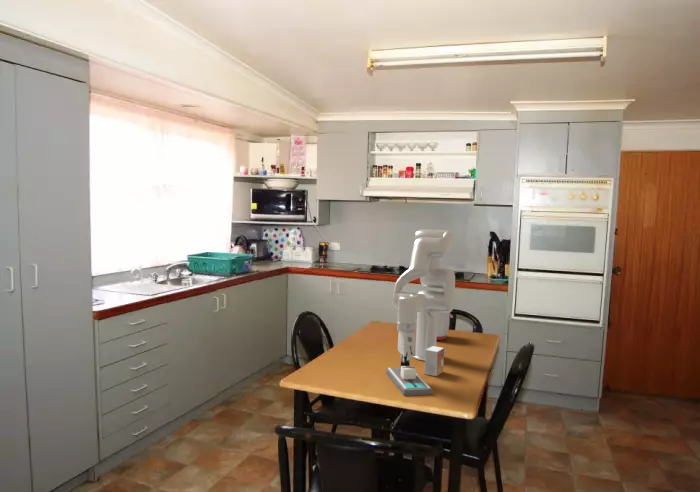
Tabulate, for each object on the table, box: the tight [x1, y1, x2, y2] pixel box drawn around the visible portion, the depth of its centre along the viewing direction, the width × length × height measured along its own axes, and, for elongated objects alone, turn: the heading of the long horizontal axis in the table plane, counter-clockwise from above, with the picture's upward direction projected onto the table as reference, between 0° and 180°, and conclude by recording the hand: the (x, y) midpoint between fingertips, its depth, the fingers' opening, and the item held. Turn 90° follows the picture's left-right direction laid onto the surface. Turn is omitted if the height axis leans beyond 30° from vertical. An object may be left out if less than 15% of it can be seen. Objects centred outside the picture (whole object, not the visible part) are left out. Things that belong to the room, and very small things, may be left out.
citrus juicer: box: [433, 312, 454, 341], centre depth 265 cm, size 16×17×20 cm
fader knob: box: [400, 365, 417, 380], centre depth 193 cm, size 5×4×4 cm
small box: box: [424, 345, 445, 377], centre depth 206 cm, size 8×6×10 cm
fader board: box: [385, 367, 433, 396], centre depth 193 cm, size 11×25×2 cm, turn 11°
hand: (404, 371), depth 197 cm, fingers closed
